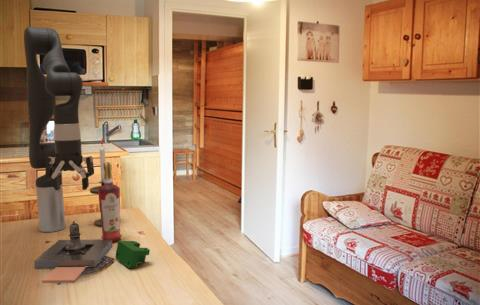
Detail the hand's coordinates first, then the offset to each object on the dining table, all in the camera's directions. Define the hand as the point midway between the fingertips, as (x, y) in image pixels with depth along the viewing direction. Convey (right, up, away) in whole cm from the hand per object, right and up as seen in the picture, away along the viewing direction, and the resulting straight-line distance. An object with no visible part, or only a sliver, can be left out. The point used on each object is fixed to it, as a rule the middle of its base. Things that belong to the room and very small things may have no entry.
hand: (71, 189), depth 133 cm
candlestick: (-1, -17, +38) cm, 42 cm away
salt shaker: (0, -22, +3) cm, 22 cm away
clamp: (+20, -23, -1) cm, 30 cm away
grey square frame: (0, -22, +3) cm, 22 cm away
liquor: (+7, -20, +18) cm, 28 cm away
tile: (+2, -24, -11) cm, 26 cm away
